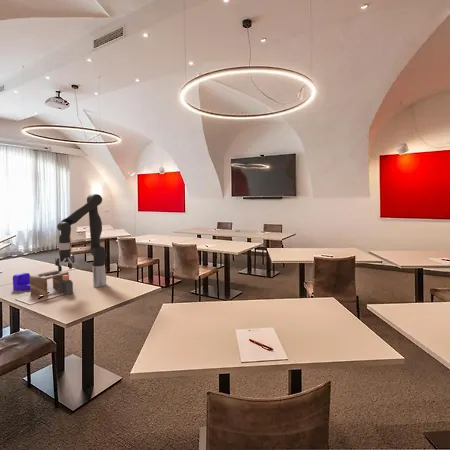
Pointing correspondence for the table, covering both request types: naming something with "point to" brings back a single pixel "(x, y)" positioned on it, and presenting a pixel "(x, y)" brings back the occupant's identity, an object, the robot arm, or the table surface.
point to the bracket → (21, 282)
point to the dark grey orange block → (66, 285)
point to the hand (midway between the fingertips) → (65, 270)
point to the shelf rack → (45, 281)
